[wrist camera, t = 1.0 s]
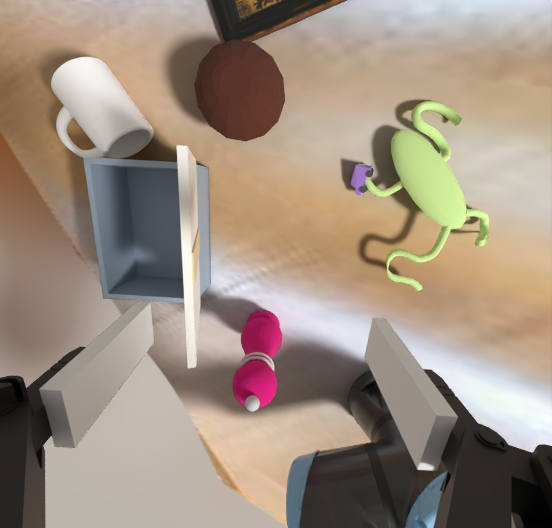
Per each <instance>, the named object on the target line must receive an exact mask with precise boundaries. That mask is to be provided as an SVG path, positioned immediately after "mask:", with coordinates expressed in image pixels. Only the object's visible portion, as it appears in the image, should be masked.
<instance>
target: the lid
mask: <svg viewBox="0 0 552 528" xmlns="http://www.w3.org/2000/svg"><path fill="white" fill-rule="evenodd" d="M177 164H178V184H179V204H180V224H181V244H182V264H183V284H184V305H185V325H186V345H187V365H188V368H195V367H196V361H197V347H198V333H199V320H200V306H201V304H200V272H199V253H200V233H199V228H198V207H197V175H196V160H195V158H194V156H193V155H192V153H191V151H190V150H189V148H188V146H179V145H177Z"/></svg>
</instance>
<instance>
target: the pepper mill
mask: <svg viewBox="0 0 552 528" xmlns="http://www.w3.org/2000/svg"><path fill="white" fill-rule="evenodd" d="M281 341H282V333H281V330H280V328H279V321H278V318H277V317H276V316H275V315H274V314H273V313H271V312H268V311H257V312H255V313H253V314H252V315H251V316H250V317H249V319H248V321H247V324H246V325H245V326H244V328H243V330H242V333H241V344H242V348H243V350H244V352H245V355H246V356H245V357H244V358H243V359H242V361H241V365H240V368H239V369H238V370H237V372H236V373H235V375H234V378H233V393H234V395H235V398H236V399H237V400H238V402H239V403H240V404H242V405H243V406H245V407H246V409H247V410H248V411H251V412H253V411H256V410H257V409H258V408H262V407H264V406H266V405H267V404H269V403H270V402H271V400H272V399H273V398H274V396H275V393H276V390H277V378H276V375H275V373H274V363H273V361H272V357H273V356H274V355H275V354H276V353H277V351H278V350H279V348H280V345H281Z"/></svg>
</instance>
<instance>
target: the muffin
mask: <svg viewBox="0 0 552 528" xmlns="http://www.w3.org/2000/svg"><path fill="white" fill-rule="evenodd" d="M195 90H196V96H197V102H198V107H199V109H200V111H201V112H202V114H203V115H204V117H205V119H206V120H207V122H208V124H209V125H210V126H211V127H212V128H214V129H215V130H216V131H218V132H219V133H221V134H222V135H223V136H225V137H226V138H230V139H236V140H242V141H248V140H251V139H254V138H258V137H261V136H264V135H265V134H266V133H267V132H268V131H269V130H270V129H271V128H272V127H273V126H274V125H275V124H276V123H277V122H278V120H279V117H280V114H281V111H282V108H283V105H284V102H285V94H284V82H283V77H282V75H281V73H280V71H279V69H278V67H277V65H276V63H275V61H274V59H273V57H272V56H270V55H269V54H268V53H267V52H265V51H264V50H263V49H261V48H260V47H259V46H258V45H256V44H255V43H251V42H246V41H241V40H235V39H233V40H230V41H227V42H225V43H222V44H219V45H216V46H214V47H213V48H212V49H211V50H210V52H209V53H208V54H207V55H206V56H205V58H204V59H203V60H202V61H201V62H200V65H199V69H198V73H197V77H196V81H195Z"/></svg>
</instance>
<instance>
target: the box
mask: <svg viewBox="0 0 552 528" xmlns="http://www.w3.org/2000/svg"><path fill="white" fill-rule="evenodd" d="M83 161H84V168H85V175H86V181H87V188H88V195H89V202H90V209H91V216H92V223H93V230H94V237H95V244H96V251H97V258H98V265H99V272H100V279H101V286H102V292H103V298H105V299H122V300H139V301H156V302H173V303H184V284H183V264H182V244H181V224H180V204H179V184H178V164H177V162H166V161H147V160H129V159H111V158H92V157H83ZM196 175H197V207H198V228H199V233H200V253H199V272H200V297H201V295H202V294H203V293H204V291H205V290H206V289H207V287H208V286H209V285H210V283H211V266H210V212H209V168H208V167H204V166H200V165H196Z"/></svg>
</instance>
